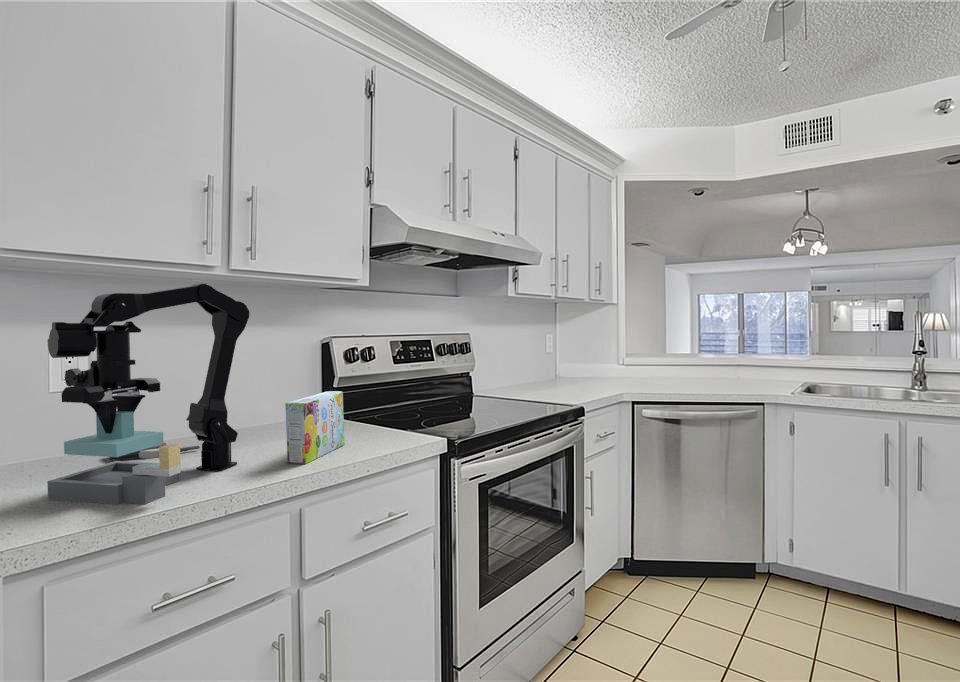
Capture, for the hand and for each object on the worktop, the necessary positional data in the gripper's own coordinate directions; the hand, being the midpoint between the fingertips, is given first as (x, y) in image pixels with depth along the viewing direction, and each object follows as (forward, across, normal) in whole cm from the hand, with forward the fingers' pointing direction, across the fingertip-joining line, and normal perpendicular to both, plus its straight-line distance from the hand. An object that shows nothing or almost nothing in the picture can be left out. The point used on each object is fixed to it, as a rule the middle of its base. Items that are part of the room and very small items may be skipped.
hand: (115, 431), depth 114 cm
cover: (+4, 0, 0) cm, 4 cm away
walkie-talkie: (+13, -28, -16) cm, 34 cm away
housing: (+12, 0, +2) cm, 12 cm away
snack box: (+12, -36, +26) cm, 46 cm away
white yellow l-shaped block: (+7, +4, +13) cm, 16 cm away
